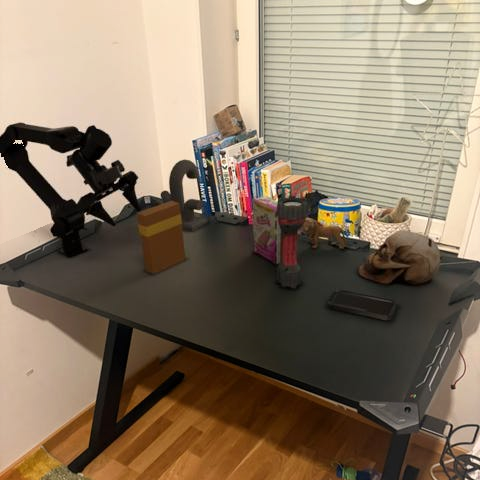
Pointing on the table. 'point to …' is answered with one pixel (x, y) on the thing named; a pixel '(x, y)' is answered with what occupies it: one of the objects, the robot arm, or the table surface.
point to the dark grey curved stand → (177, 194)
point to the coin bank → (403, 259)
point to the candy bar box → (266, 228)
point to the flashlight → (290, 238)
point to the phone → (362, 304)
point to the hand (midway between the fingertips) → (127, 218)
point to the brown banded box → (161, 236)
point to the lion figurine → (322, 232)
